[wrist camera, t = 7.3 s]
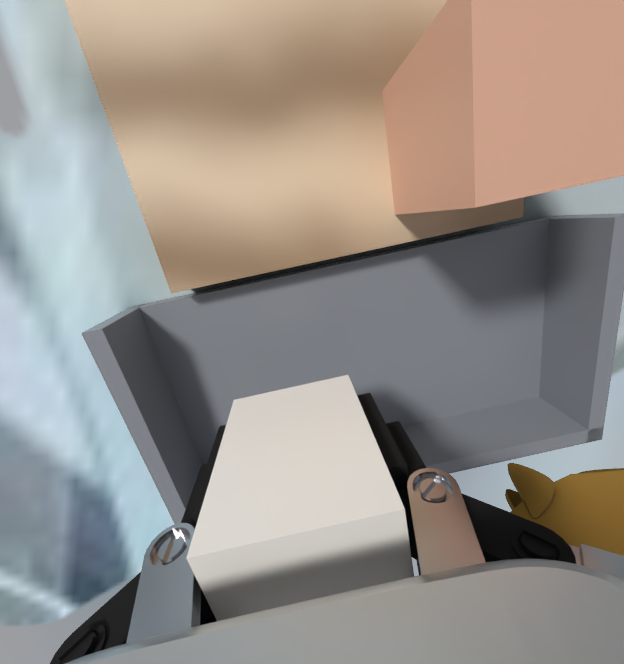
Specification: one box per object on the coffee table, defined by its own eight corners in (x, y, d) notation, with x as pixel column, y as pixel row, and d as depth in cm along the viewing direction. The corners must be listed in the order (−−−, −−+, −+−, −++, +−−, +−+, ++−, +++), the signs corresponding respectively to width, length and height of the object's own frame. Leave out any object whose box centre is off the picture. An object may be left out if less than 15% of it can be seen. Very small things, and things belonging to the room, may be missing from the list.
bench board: (50, -105, 11) (0, -174, 9) (495, -196, 11) (539, -284, 9) (185, 285, 16) (171, 293, 14) (495, 217, 16) (523, 217, 14)
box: (130, 307, 16) (81, 333, 12) (552, 215, 16) (635, 213, 12) (200, 473, 19) (179, 533, 16) (540, 397, 20) (601, 439, 16)
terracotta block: (382, 90, 12) (470, -31, 6) (496, 66, 12) (689, -78, 6) (394, 214, 13) (475, 207, 8) (496, 192, 13) (650, 170, 8)
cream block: (233, 400, 12) (186, 558, 6) (348, 374, 12) (405, 508, 6) (263, 488, 13) (246, 681, 8) (364, 465, 13) (422, 640, 8)
